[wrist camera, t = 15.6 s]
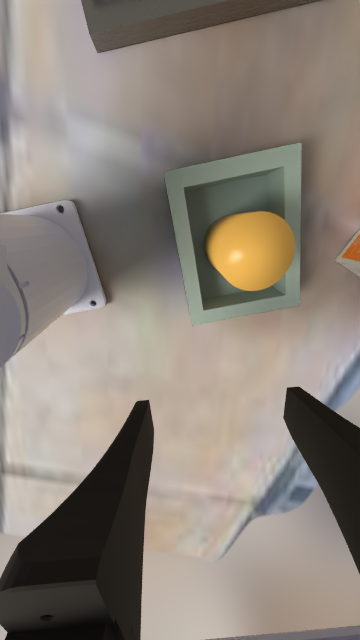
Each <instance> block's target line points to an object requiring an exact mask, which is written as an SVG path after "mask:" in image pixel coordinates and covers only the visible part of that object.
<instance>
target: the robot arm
mask: <svg viewBox="0 0 360 640" xmlns="http://www.w3.org/2000/svg"><path fill="white" fill-rule="evenodd" d="M59 206H63V208H64V212H63V213H61V212H60V211H59ZM92 300H94V301H96V305H94V304H92V302H91V301H92ZM106 302H107V301H106V297H105V294H104V291H103V288H102V285H101V282H100V279H99V276H98V273H97V270H96V267H95V264H94V261H93V257H92V254H91V251H90V248H89V245H88V242H87V239H86V236H85V233H84V230H83V227H82V224H81V221H80V218H79V215H78V212H77V209H76V206H75V204H74V203H73V202H72V201H70V200H61V201H57V202H52V203H47V204H42V205H38V206H33V207H28V208H24V209H19V210H14V211H10V212H5V213H0V367H1V366H3V365H4V364H5V363H6V362H7V361H8V360H10V359H11V358H12V357H13V356H14V355H15V354H16V353H18V352H19V351H20V350H21V349H22V348H23V347H25V346H26V345H27V344H28V343H29V342H30V341H32V340H33V339H34V338H35V337H36V336H38V335H39V334H40V333H41V332H42V331H43V330H45V329H46V328H47V327H48V326H49V325H50V324H52V323H53V322H54V321H55V320H56V319H57V318H59V317H60V316H61V315H66V314H71V313H76V312H82V311H87V310H92V309H97V308H102V307H104V306H105V305H106ZM283 418H284V420H285V423H286V425H287V427H288V430H289V432H290V434H291V436H292V438H293V440H294V442H295V444H296V445H297V447H298V449H299V451H300V452H301V454H302V456H303V458H304V459H305V461H306V463H307V464H308V466H309V468H310V470H311V471H312V473H313V475H314V476H315V478H316V480H317V482H318V483H319V485H320V487H321V489H322V491H323V493H324V495H325V497H326V499H327V501H328V503H329V505H330V508H331V510H332V512H333V514H334V516H335V518H336V520H337V522H338V525H339V527H340V529H341V531H342V534H343V536H344V538H345V540H346V543H347V545H348V547H349V550H350V552H351V554H352V556H353V559H354V562H355V564H356V566H357V569H358V571H359V573H360V428H359V427H357V426H356V425H354V424H352V423H351V422H349V421H348V420H346V419H344V418H343V417H342V416H340V415H339V414H337V413H336V412H334V411H333V410H331V409H330V408H328V407H327V406H326V405H324V404H323V403H321V402H320V401H319V400H317V399H316V398H314V397H313V396H312V395H310V394H309V393H307V392H306V391H304V390H303V389H302V388H300V387H289V388H287V392H286V401H285V409H284V417H283ZM153 442H154V427H153V421H152V415H151V409H150V403H149V400H145V401H137V402H136V403H135V405H134V407H133V409H132V411H131V413H130V415H129V417H128V418H127V420H126V422H125V424H124V425H123V427H122V429H121V430H120V432H119V433H118V435H117V437H116V438H115V440H114V441H113V443H112V444H111V446H110V447H109V449H108V450H107V451H106V453H105V454H104V456H103V457H102V458H101V460H100V461H99V462H98V463H97V465H96V466H95V467H94V469H93V470H92V471H91V472H90V473H89V475H88V476H87V477H86V478H85V479H84V480H83V482H82V483H81V484H80V485H79V486H78V487H77V488H76V489H75V491H74V492H73V493H72V494H71V495H70V496H69V497H68V498H67V499H66V500H65V501H64V502H63V503H62V504H61V505H60V506H59V507H58V508H57V509H56V510H55V511H54V512H53V513H52V514H51V515H50V516H49V517H48V518H47V519H46V520H44V521H43V522H42V523H41V524H40V525H39V526H38V527H37V528H36V529H34V530H33V531H32V532H31V533H30V534H29V535H28V536H27V537H25V538H24V539H23V540H22V541H21V542H20V543H19V544H18V546H17V547H16V549H15V551H14V553H13V554H12V556H11V558H10V560H9V562H8V564H7V565H6V567H5V570H4V572H3V574H2V576H1V578H0V625H1V626H2V627H3V628H4V629H5V630H6V631H7V632H8V633H7V636H6V638H5V640H140V630H141V594H142V569H143V568H142V566H143V546H144V526H145V509H146V499H147V491H148V484H149V477H150V470H151V463H152V455H153ZM208 640H360V626H349V627H338V628H327V629H316V630H305V631H295V632H283V633H272V634H262V635H251V636H240V637H229V638H219V639H208Z"/></svg>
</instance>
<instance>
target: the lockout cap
mask: <svg viewBox="0 0 360 640" xmlns="http://www.w3.org/2000/svg"><path fill="white" fill-rule="evenodd" d="M204 252H205V255H206V257H207V259H208V261H209V262H210V263H211V264H212V265H213V266H214V267H215V268H216V269H217V270H218V271H219V272H220V273H221V274H222V275H223V277H224V278H225V279H226V280H227V281H228V282H229V283H231V284H232V285H233V286H235V287H237V288H239V289H242V290H246V291H257V290H262V289H265V288H268V287H270V286H272V285H273V284H275V283H276V282H278V281H279V280H280V279H281V278H282V277H283V276H284V275H285V273H286V272H287V271H288V269H289V267H290V265H291V263H292V261H293V257H294V253H295V239H294V235H293V232H292V230H291V228H290V226H289V225H288V223H287V222H286V221H285V220H284V219H283V218H281V217H280V216H278V215H276V214H274V213H271V212H265V211H258V212H250V213H241V214H233V215H226V216H223V217H220V218H219V219H217V220H216V221H214V222H213V223H212V224H211V226H210V227H209V228H208V230H207V232H206V234H205V237H204Z"/></svg>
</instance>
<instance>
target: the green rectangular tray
mask: <svg viewBox="0 0 360 640" xmlns="http://www.w3.org/2000/svg"><path fill="white" fill-rule="evenodd" d="M301 152H302V142H300V143H295V144H290V145H286V146H281V147H276V148H272V149H267V150H262V151H258V152H253V153H248V154H244V155H239V156H234V157H230V158H225V159H220V160H216V161H211V162H206V163H202V164H197V165H192V166H188V167H183V168H178V169H174V170H169V171H164V178H165V184H166V189H167V194H168V200H169V205H170V210H171V216H172V221H173V227H174V232H175V237H176V243H177V248H178V254H179V259H180V264H181V270H182V275H183V281H184V286H185V291H186V297H187V302H188V308H189V313H190V318H191V323H192V326H193V325H198V324H203V323H209V322H214V321H219V320H225V319H230V318H235V317H241V316H246V315H251V314H257V313H262V312H267V311H273V310H278V309H284V308H289V307H294V306H300V234H301ZM258 211H265V212H271V213H274V214H276V215H278V216H280V217H281V218H283V219H284V220H285V221H286V222H287V223H288V225H289V226H290V228H291V230H292V232H293V235H294V239H295V253H294V257H293V261H292V263H291V265H290V267H289V269H288V271H287V272H286V273H285V275H284V276H283V277H282V278H281V279H280V280H279V281H278V282H276V283H275V284H273V285H272V286H270V287H268V288H265V289H262V290H257V291H246V290H242V289H239V288H237V287H235V286H233V285H232V284H231V283H229V282H228V281H227V280H226V279H225V278H224V277H223V275H222V274H221V273H220V272H219V271H218V270H217V269H216V268H215V267H214V266H213V265H212V264H211V263H210V262H209V261H208V259H207V257H206V255H205V252H204V237H205V234H206V232H207V230H208V228H209V227H210V226H211V224H212V223H213V222H214V221H216V220H217V219H219V218H220V217H223V216H226V215H233V214H241V213H250V212H258Z"/></svg>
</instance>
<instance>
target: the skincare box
mask: <svg viewBox="0 0 360 640" xmlns="http://www.w3.org/2000/svg"><path fill="white" fill-rule="evenodd" d="M335 261H336V262H337V263H339V264H341V265H342V266H344V267H346V268H347V269H349V270H350V271H351V272H353V273H354V274H356V275H358V276H359V277H360V229H359V230H358V232H357V233H356V234H355V235H354V237H353V238H352V239H351V240H350V242H349V243H348V244H347V245H346V247H345V248H344V249H343V251H342V252H341V253H340V254H339V255H338V257H337V258H336V260H335Z"/></svg>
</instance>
